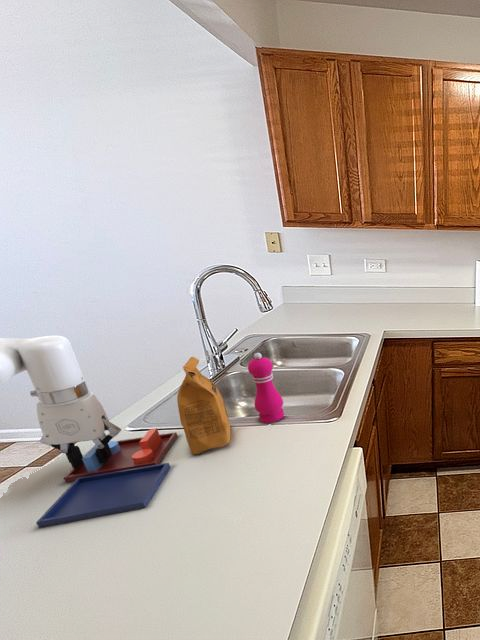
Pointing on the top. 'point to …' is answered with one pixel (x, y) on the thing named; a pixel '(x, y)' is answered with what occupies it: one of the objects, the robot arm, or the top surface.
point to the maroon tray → (125, 457)
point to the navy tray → (105, 494)
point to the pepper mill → (265, 390)
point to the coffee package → (202, 411)
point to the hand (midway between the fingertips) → (92, 461)
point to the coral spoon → (147, 447)
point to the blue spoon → (92, 457)
